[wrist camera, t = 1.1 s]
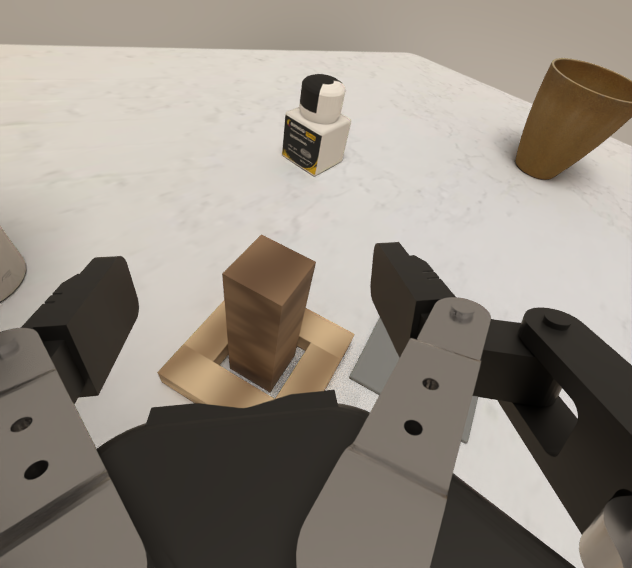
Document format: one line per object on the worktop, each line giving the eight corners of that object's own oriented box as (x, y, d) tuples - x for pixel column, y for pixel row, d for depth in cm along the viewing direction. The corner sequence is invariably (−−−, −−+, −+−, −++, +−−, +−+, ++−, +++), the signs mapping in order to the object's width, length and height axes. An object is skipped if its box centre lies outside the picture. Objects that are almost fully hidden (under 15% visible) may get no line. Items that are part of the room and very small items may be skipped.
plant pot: (527, 195, 61) (599, 100, 48) (482, 146, 69) (533, 54, 57) (592, 191, 65) (674, 102, 53) (541, 145, 73) (601, 60, 61)
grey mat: (349, 378, 35) (349, 376, 35) (390, 296, 42) (391, 294, 42) (465, 443, 33) (467, 442, 32) (488, 345, 40) (490, 343, 40)
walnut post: (229, 368, 34) (222, 273, 23) (256, 333, 37) (261, 234, 26) (270, 392, 33) (281, 306, 22) (294, 355, 36) (315, 262, 25)
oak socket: (161, 381, 32) (157, 372, 31) (246, 287, 40) (246, 276, 38) (285, 461, 30) (287, 455, 28) (350, 343, 37) (354, 334, 36)
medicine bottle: (281, 155, 57) (287, 75, 48) (310, 141, 61) (322, 65, 52) (314, 177, 55) (328, 97, 45) (342, 161, 59) (360, 85, 49)
